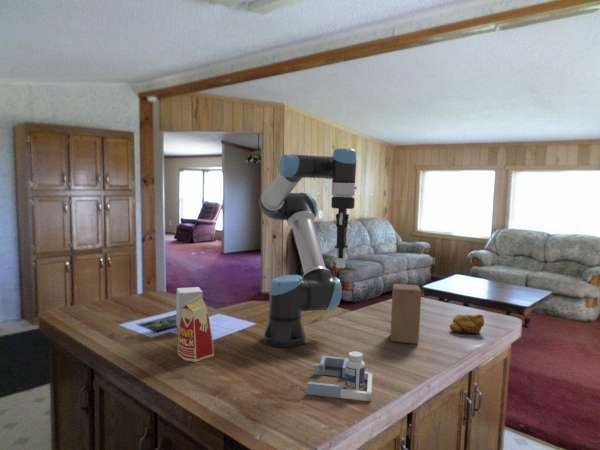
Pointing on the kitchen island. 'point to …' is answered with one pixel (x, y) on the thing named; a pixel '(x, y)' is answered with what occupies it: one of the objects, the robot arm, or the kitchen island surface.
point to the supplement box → (185, 300)
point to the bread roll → (467, 324)
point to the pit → (333, 371)
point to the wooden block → (405, 313)
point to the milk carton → (195, 332)
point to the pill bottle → (355, 371)
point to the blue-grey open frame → (324, 388)
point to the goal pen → (359, 394)
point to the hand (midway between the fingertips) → (340, 267)
